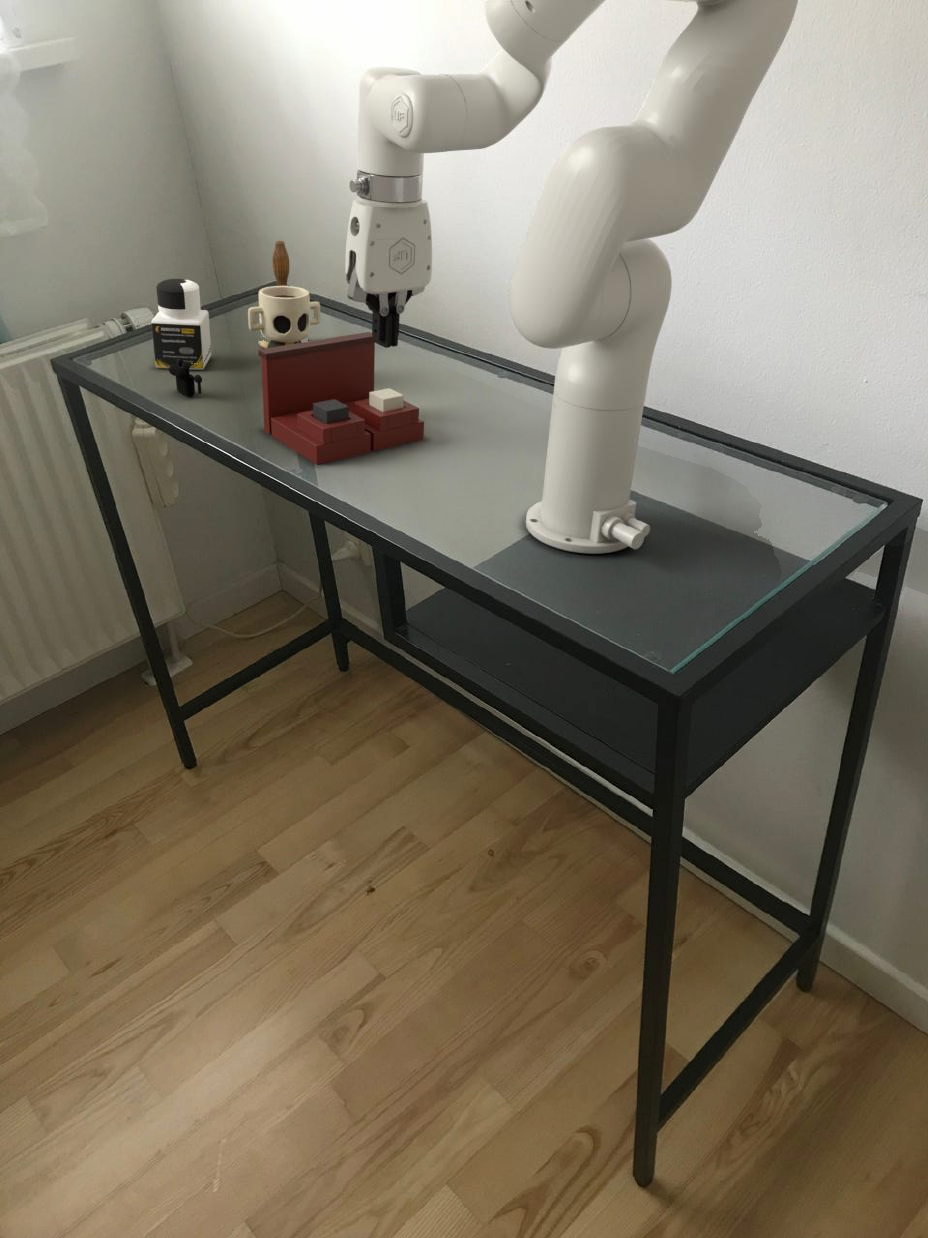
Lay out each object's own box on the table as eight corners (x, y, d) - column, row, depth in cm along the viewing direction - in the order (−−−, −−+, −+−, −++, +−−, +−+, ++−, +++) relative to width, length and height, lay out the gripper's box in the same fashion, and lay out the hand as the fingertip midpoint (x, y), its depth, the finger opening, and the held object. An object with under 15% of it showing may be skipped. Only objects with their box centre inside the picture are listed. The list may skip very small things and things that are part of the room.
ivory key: (403, 409, 134) (404, 395, 133) (383, 414, 133) (383, 399, 132) (389, 402, 136) (389, 387, 135) (369, 406, 135) (369, 391, 134)
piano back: (376, 412, 144) (377, 335, 139) (269, 435, 135) (265, 353, 129) (368, 408, 146) (369, 331, 140) (261, 430, 136) (257, 349, 131)
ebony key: (348, 421, 130) (348, 406, 129) (327, 426, 128) (326, 411, 127) (334, 413, 132) (334, 398, 131) (313, 418, 130) (312, 403, 129)
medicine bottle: (155, 368, 155) (146, 286, 148) (165, 353, 161) (157, 274, 154) (203, 370, 155) (197, 288, 149) (211, 356, 161) (206, 276, 155)
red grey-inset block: (371, 452, 132) (371, 418, 130) (317, 465, 128) (316, 430, 125) (324, 424, 139) (323, 392, 137) (271, 436, 135) (270, 402, 133)
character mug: (260, 393, 148) (256, 301, 141) (242, 378, 153) (238, 288, 146) (331, 384, 153) (330, 294, 146) (311, 369, 158) (309, 282, 152)
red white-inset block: (424, 439, 137) (425, 406, 135) (373, 451, 132) (374, 417, 130) (376, 413, 144) (376, 381, 142) (326, 424, 140) (326, 391, 137)
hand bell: (300, 354, 164) (297, 249, 156) (250, 348, 166) (245, 243, 157) (317, 339, 171) (315, 238, 163) (269, 333, 173) (265, 233, 164)
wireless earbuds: (206, 400, 145) (203, 364, 142) (191, 404, 143) (188, 368, 140) (175, 387, 148) (172, 352, 146) (160, 390, 147) (157, 355, 144)
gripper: (354, 198, 114) (351, 361, 124) (460, 190, 123) (450, 344, 132) (317, 185, 119) (318, 343, 129) (422, 178, 127) (415, 328, 137)
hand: (385, 343), depth 130 cm, fingers closed
